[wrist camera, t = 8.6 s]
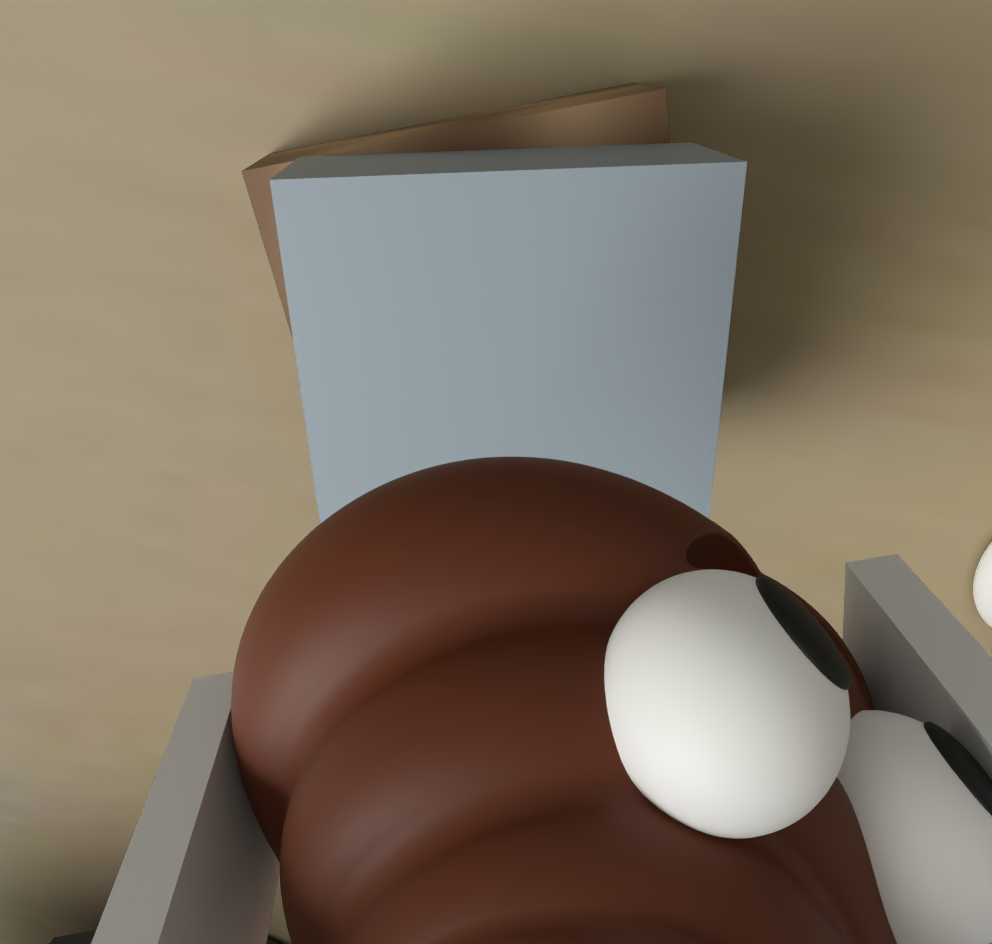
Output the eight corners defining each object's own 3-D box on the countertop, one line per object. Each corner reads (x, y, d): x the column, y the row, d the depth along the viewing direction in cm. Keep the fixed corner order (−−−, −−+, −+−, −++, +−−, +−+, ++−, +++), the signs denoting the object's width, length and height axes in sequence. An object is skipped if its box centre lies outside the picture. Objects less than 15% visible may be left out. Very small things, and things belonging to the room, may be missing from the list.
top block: (344, 503, 30) (328, 581, 26) (299, 156, 25) (269, 179, 20) (665, 485, 31) (704, 558, 26) (691, 142, 25) (747, 161, 21)
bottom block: (361, 469, 35) (350, 530, 31) (270, 152, 29) (241, 171, 25) (659, 414, 35) (691, 467, 30) (630, 82, 29) (665, 88, 24)
